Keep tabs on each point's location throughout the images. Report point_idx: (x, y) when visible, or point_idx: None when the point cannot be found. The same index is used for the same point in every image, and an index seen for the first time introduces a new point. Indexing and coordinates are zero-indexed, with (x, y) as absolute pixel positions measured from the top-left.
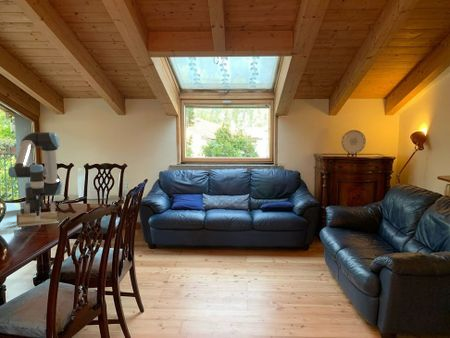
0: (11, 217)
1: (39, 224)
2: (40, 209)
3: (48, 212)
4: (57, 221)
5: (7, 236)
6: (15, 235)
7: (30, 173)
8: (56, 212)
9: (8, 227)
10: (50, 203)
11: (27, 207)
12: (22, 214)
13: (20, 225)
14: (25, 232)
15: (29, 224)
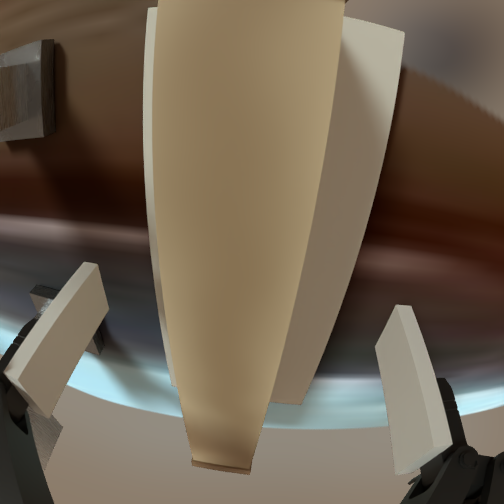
0: (3, 348)
1: (351, 269)
2: (41, 343)
3: (205, 210)
4: (358, 34)
5: (480, 406)
6: (498, 385)
7: None
8: (341, 2)
9: (267, 418)
10: None
11: (39, 433)
12: (201, 452)
13: (297, 390)
14: (495, 355)
15: (307, 347)
